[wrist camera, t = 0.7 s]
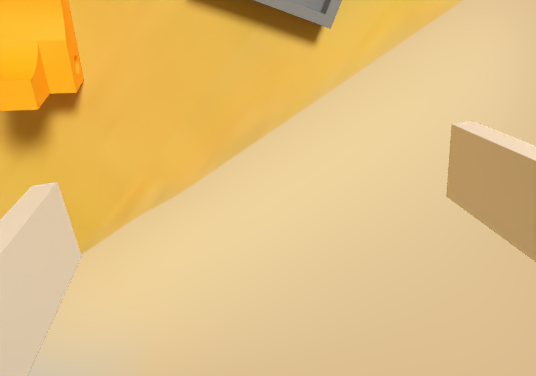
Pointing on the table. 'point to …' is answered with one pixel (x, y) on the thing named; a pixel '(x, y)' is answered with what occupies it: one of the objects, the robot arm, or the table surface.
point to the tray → (308, 9)
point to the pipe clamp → (36, 53)
